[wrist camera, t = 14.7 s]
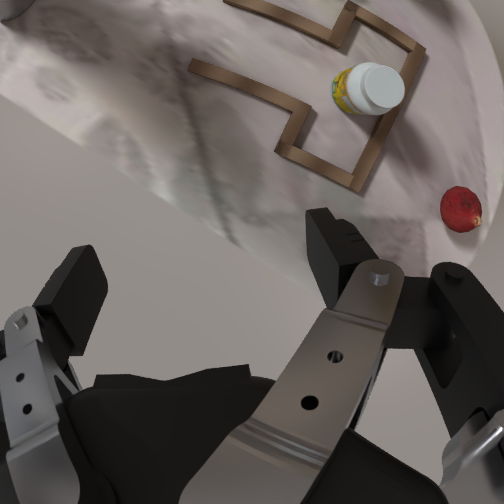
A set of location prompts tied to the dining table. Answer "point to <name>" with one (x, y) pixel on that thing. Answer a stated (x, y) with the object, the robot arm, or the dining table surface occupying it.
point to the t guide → (300, 109)
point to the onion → (460, 209)
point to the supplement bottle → (367, 89)
